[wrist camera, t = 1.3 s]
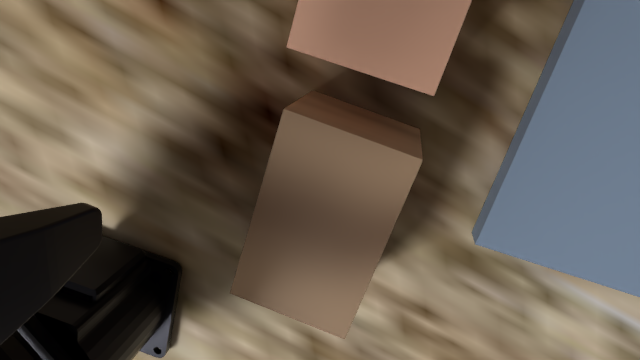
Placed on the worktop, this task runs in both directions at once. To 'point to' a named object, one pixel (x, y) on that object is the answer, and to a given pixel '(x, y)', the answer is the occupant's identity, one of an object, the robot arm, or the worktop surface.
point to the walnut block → (326, 210)
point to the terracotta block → (382, 37)
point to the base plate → (577, 156)
